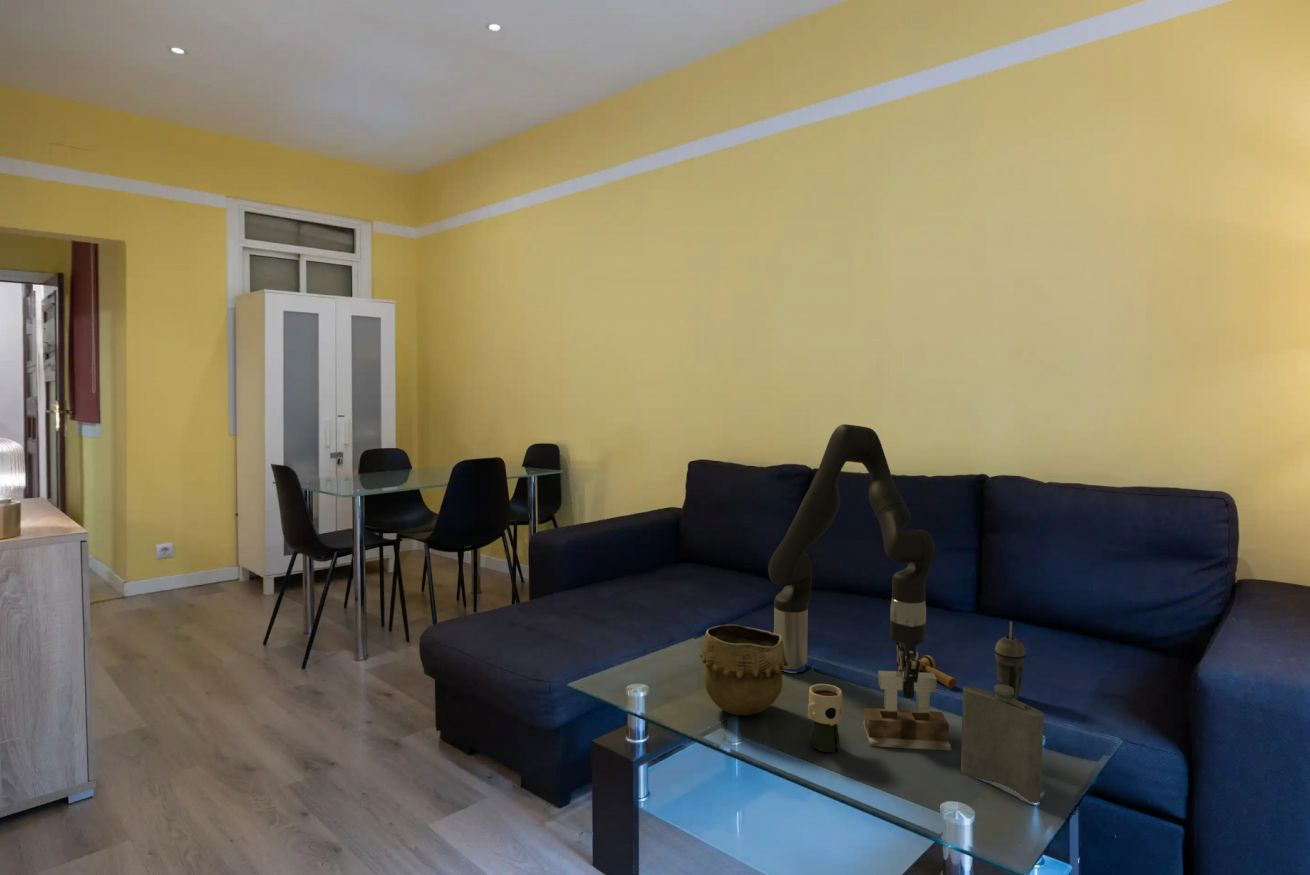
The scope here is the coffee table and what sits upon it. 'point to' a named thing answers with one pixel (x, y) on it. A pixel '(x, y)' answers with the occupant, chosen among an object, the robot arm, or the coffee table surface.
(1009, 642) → the beverage cup
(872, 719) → the brown wooden block
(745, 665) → the clay pot
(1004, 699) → the hip flask
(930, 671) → the kendama
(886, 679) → the clip
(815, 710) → the character mug
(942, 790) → the coffee table surface
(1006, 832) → the coffee table surface
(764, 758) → the coffee table surface
